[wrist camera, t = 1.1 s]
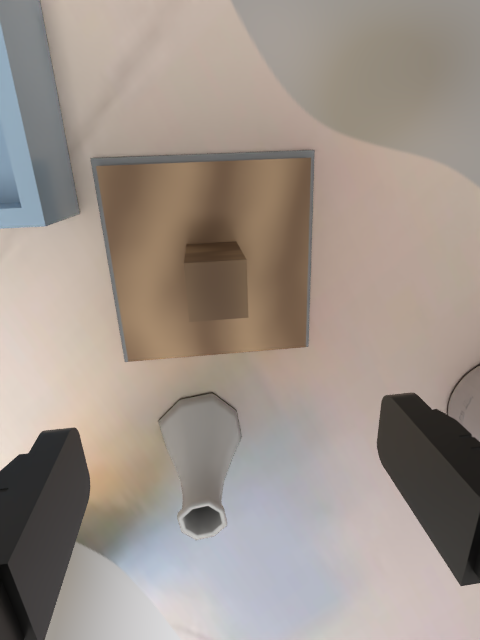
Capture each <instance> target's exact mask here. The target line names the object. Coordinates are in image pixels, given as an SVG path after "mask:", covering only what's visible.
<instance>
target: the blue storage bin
mask: <svg viewBox="0 0 480 640" xmlns="http://www.w3.org/2000/svg"><path fill="white" fill-rule="evenodd" d="M78 214H80V212H79V206H78V201H77V196H76V190H75V185H74V180H73V174H72V169H71V164H70V158H69V153H68V148H67V142H66V137H65V132H64V126H63V121H62V116H61V110H60V105H59V100H58V95H57V89H56V84H55V79H54V73H53V68H52V63H51V57H50V52H49V47H48V41H47V36H46V31H45V25H44V20H43V15H42V9H41V4H40V1H39V0H0V229H1V228H20V227H40V226H48V225H50V224H53V223H56V222H59V221H61V220H64V219H67V218H70V217H72V216H75V215H78Z"/></svg>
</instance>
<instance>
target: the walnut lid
mask: <svg viewBox="0 0 480 640" xmlns="http://www.w3.org/2000/svg"><path fill="white" fill-rule="evenodd" d="M96 169H97V175H98V181H99V187H100V193H101V200H102V206H103V212H104V218H105V224H106V230H107V236H108V242H109V248H110V254H111V260H112V266H113V272H114V278H115V284H116V290H117V296H118V302H119V308H120V314H121V321H122V327H123V333H124V339H125V345H126V351H127V357H128V362H130V361H142V360H154V359H166V358H178V357H191V356H203V355H215V354H227V353H239V352H251V351H263V350H276V349H288V348H300V347H306V323H307V288H308V253H309V218H310V182H311V158H289V159H263V160H238V161H212V162H187V163H161V164H136V165H110V166H96Z"/></svg>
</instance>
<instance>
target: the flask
mask: <svg viewBox="0 0 480 640" xmlns="http://www.w3.org/2000/svg"><path fill="white" fill-rule="evenodd" d="M158 422H159V425H160V429H161V432H162V435H163V439H164V442H165V445H166V448H167V451H168V453H169V455H170V457H171V460H172V462H173V464H174V466H175V468H176V471H177V473H178V476H179V479H180V482H181V487H182V493H183V506H182V510H181V511H179V512H178V515H177V519H178V522H179V525H180V528H181V532H182V533H184V534H186V535H188V536H189V537H191V538H193V539H195V540H199V539H204V538H209V537H213V536H215V535H217V534H218V533H219V532H220V531H221V530H222V529H223V528H225V527H226V526H227V519H226V515H225V511H224V508H223V506H222V504H221V498H222V491H223V485H224V480H225V477H226V475H227V472H228V469H229V467H230V464H231V461H232V459H233V456H234V454H235V452H236V449H237V447H238V445H239V442H240V440H241V437H242V436H241V431H240V426H239V421H238V416H237V411H236V410H234V409H233V408H232V407H230V406H229V405H228V404H226V403H225V402H224V401H222V400H221V399H220V398H218V397H217V396H216V395H214V394H213V393H211V394H206V395H201V396H196V397H191V398H186V399H181V400H179V401H178V402H177V403H176V404H175V405H174V406H173V407H172V408H171V409H170V410H169V411H168V412H167V413H166V414H165V415H164V416H163V417H162V418H161V419H160V420H159V421H158Z"/></svg>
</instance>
